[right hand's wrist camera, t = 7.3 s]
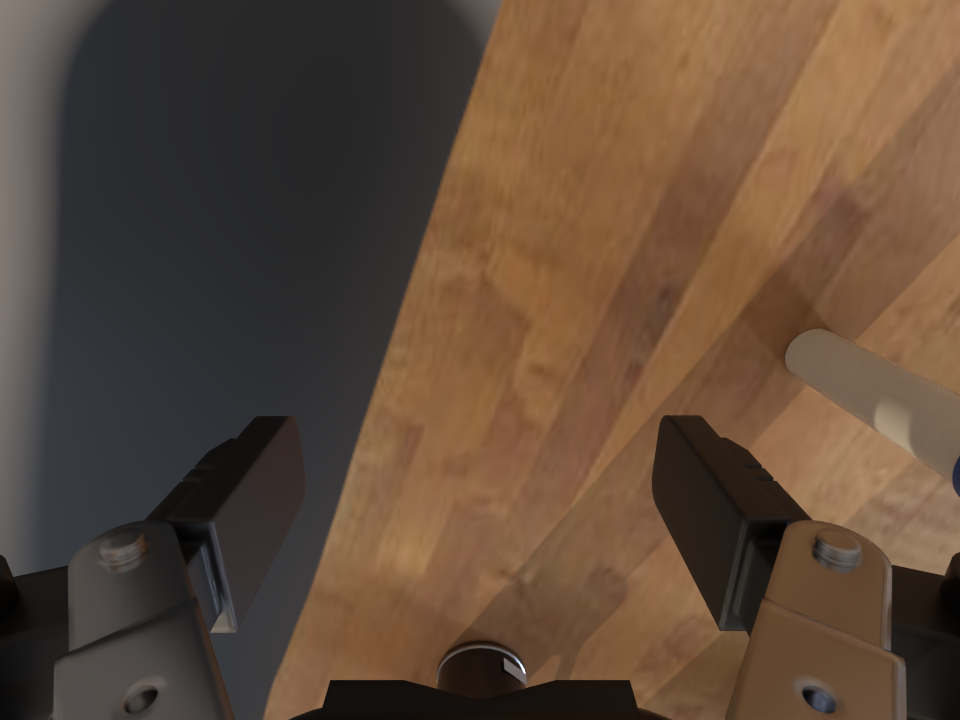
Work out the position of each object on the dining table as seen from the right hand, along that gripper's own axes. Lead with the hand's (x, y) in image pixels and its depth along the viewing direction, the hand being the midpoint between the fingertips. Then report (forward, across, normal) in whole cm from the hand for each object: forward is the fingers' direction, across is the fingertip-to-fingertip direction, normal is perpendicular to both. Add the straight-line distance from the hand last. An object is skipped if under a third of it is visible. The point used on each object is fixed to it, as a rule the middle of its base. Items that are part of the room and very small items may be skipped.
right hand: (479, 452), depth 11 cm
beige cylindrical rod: (+29, +27, -9) cm, 41 cm away
